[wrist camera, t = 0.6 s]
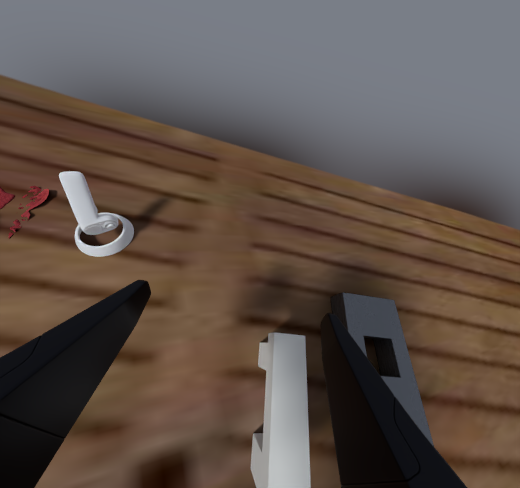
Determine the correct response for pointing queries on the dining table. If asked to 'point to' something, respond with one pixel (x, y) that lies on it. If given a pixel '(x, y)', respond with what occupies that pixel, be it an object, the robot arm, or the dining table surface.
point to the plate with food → (3, 198)
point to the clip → (283, 416)
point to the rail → (383, 347)
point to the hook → (93, 217)
